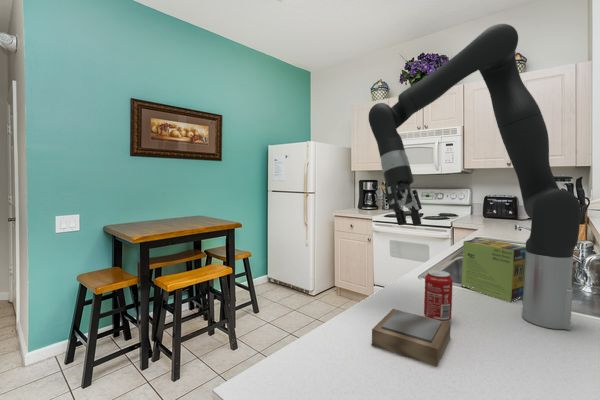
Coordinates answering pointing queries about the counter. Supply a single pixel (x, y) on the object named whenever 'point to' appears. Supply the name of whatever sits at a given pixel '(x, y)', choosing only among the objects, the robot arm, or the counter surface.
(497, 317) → the counter surface
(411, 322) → the walnut plinth
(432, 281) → the beverage can
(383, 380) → the counter surface
